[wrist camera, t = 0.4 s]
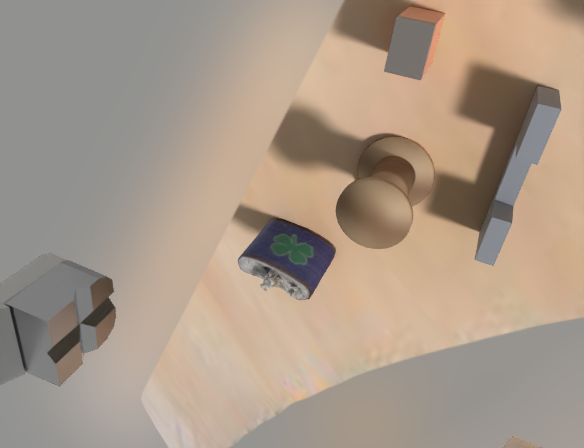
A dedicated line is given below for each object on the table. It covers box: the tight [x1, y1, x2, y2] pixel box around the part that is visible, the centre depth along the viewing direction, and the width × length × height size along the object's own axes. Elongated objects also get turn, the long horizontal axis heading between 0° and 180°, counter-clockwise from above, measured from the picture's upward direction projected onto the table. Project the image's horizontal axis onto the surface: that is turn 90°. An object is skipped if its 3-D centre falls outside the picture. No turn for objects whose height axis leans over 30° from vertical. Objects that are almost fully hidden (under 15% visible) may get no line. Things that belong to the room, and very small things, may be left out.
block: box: [384, 6, 445, 80], centre depth 46 cm, size 4×3×6 cm
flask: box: [238, 219, 336, 300], centre depth 60 cm, size 9×3×11 cm, turn 74°
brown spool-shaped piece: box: [336, 136, 435, 249], centre depth 52 cm, size 8×8×10 cm
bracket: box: [475, 86, 561, 266], centre depth 48 cm, size 16×2×6 cm, turn 173°
